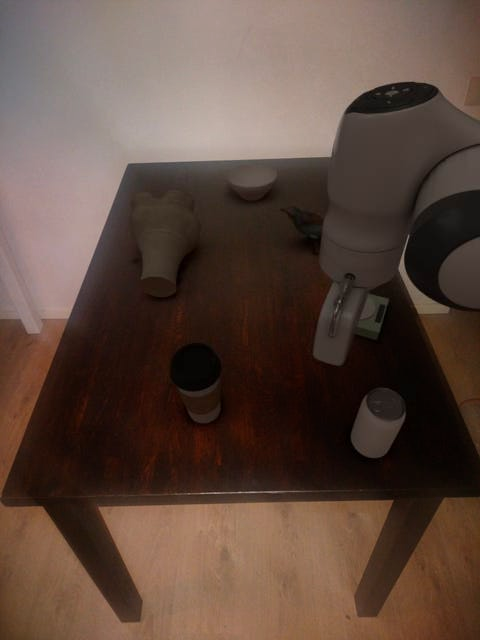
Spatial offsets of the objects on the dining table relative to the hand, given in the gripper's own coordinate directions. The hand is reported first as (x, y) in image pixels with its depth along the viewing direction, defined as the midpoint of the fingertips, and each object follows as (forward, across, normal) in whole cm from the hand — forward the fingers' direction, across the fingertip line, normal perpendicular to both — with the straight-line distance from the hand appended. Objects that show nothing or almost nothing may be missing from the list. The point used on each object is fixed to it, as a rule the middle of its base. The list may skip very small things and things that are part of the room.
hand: (343, 333), depth 53 cm
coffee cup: (+22, -8, +21) cm, 32 cm away
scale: (+22, +27, +1) cm, 35 cm away
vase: (+22, +23, +50) cm, 59 cm away
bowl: (+22, +68, +45) cm, 85 cm away
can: (+23, -2, -8) cm, 24 cm away
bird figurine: (+22, +50, +17) cm, 58 cm away
